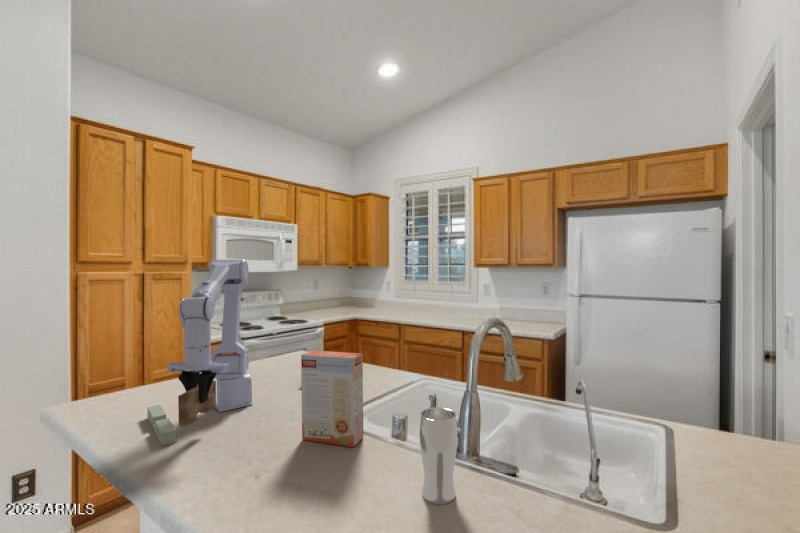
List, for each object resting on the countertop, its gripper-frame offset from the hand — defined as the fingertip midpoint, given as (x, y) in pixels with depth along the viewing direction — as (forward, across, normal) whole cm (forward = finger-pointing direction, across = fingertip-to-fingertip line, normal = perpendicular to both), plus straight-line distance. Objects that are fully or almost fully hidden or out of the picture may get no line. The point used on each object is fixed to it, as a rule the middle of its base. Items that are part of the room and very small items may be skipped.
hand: (198, 401), depth 97 cm
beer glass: (+9, +58, -18) cm, 62 cm away
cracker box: (+10, +32, +3) cm, 34 cm away
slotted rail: (+9, -13, +5) cm, 17 cm away
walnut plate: (+4, 0, 0) cm, 4 cm away
